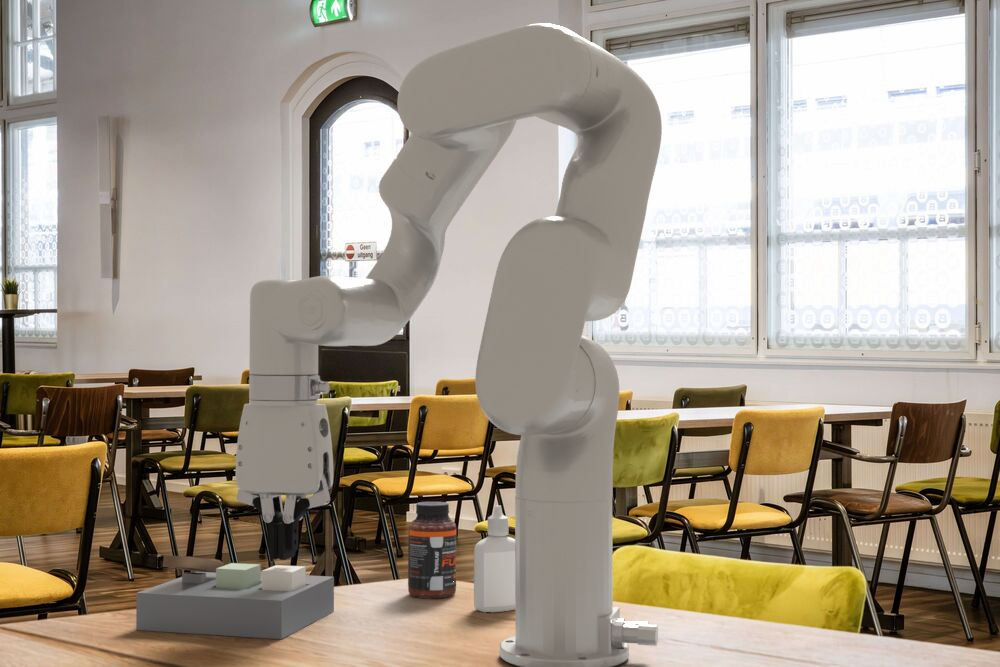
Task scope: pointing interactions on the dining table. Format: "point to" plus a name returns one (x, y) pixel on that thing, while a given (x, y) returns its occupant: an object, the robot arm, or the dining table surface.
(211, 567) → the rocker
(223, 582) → the sage button
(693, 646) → the dining table surface
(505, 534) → the eye dropper bottle
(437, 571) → the supplement bottle
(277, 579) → the white button
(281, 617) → the console
